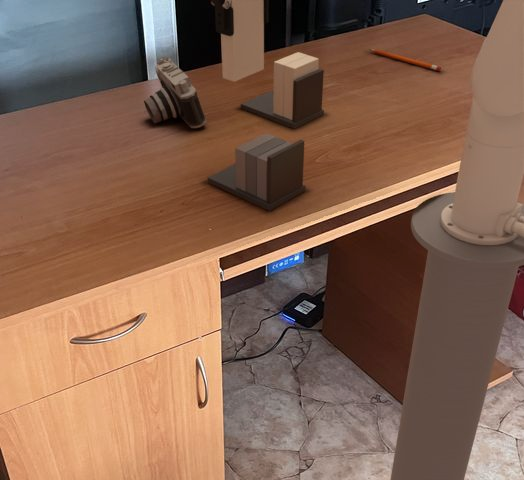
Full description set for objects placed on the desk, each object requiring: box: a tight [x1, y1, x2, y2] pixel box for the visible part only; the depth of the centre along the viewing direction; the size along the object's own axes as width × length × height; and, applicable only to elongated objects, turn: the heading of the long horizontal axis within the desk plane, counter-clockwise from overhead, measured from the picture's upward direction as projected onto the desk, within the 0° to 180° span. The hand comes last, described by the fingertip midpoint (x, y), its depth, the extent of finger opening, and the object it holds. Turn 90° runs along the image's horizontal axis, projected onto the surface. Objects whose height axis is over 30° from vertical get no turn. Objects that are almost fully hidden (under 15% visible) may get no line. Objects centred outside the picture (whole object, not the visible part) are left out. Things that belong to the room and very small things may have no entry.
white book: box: [220, 0, 265, 83], centre depth 120 cm, size 2×7×12 cm, turn 138°
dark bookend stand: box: [240, 51, 325, 130], centre depth 152 cm, size 14×9×11 cm, turn 48°
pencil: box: [368, 48, 442, 72], centre depth 176 cm, size 1×19×1 cm, turn 50°
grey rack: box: [207, 132, 306, 212], centre depth 129 cm, size 14×9×9 cm, turn 48°
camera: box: [143, 56, 207, 129], centre depth 150 cm, size 16×9×10 cm, turn 25°
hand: (242, 26), depth 119 cm, fingers closed on white book, 7 cm apart
